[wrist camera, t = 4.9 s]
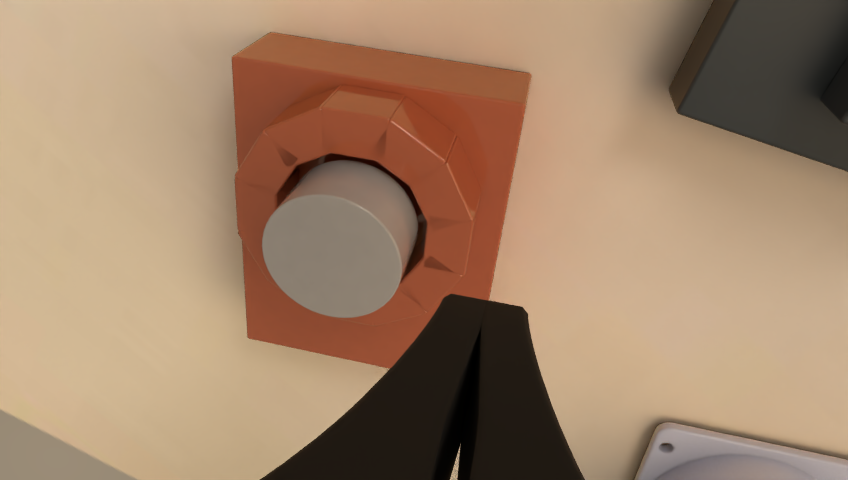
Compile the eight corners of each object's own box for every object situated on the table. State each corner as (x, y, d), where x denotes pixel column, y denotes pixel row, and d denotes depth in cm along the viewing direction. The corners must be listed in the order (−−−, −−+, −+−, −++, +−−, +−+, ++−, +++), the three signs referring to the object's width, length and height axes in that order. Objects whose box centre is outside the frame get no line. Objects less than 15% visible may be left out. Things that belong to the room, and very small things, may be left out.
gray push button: (412, 285, 19) (395, 330, 17) (291, 261, 19) (262, 303, 17) (424, 172, 17) (407, 210, 15) (290, 148, 17) (258, 182, 16)
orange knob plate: (481, 336, 25) (464, 427, 21) (276, 294, 25) (223, 373, 22) (532, 72, 19) (521, 130, 15) (269, 31, 20) (198, 76, 16)
